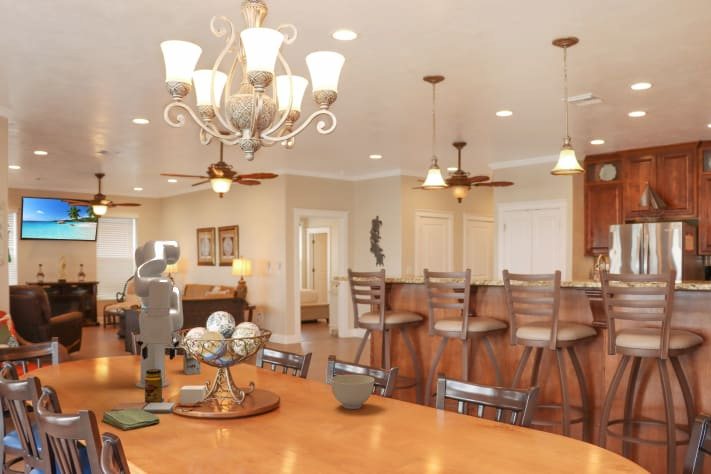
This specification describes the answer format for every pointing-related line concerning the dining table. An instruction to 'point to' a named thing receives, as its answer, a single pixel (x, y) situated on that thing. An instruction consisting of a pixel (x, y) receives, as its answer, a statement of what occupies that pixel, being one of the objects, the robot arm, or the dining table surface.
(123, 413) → the washcloth
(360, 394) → the bowl
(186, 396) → the white block
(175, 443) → the dining table surface
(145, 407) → the board
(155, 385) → the condiment
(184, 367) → the coffee box
